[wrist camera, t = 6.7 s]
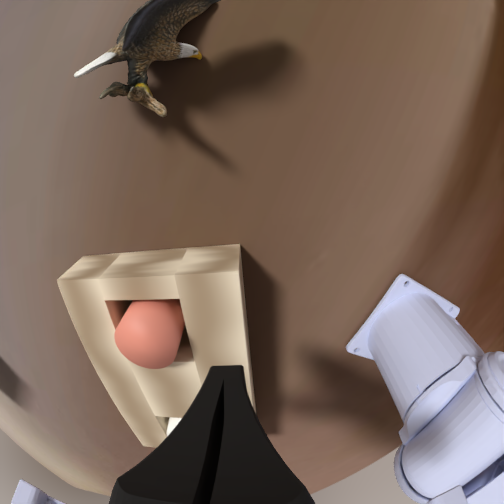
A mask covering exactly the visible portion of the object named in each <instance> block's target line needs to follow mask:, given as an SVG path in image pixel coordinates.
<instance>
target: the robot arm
mask: <svg viewBox="0 0 504 504" xmlns="http://www.w3.org/2000/svg"><path fill="white" fill-rule="evenodd" d="M406 281H407V283H406V284H405V285H404V283H405V282H406ZM459 311H460V310H459V308H458V307H457V306H456V305H454V304H452V303H451V302H449V301H448V300H446V299H444V298H443V297H441V296H440V295H438V294H436V293H435V292H433V291H431V290H430V289H428V288H426V287H425V286H423V285H421V284H420V283H418V282H416V281H415V280H413V279H411V278H410V277H408V276H406V275H404V274H400V275H399V276H398V277H397V278H396V279H395V281H394V282H393V284H392V285H391V287H390V288H389V290H388V291H387V293H386V294H385V295H384V297H383V298H382V300H381V301H380V303H379V304H378V305H377V307H376V308H375V309H374V311H373V312H372V313H371V315H370V316H369V318H368V319H367V320H366V321H365V323H364V324H363V325H362V327H361V328H360V329H359V331H358V332H357V333H356V334H355V336H354V337H353V338H352V339H351V341H350V342H349V343H348V344H347V346H346V349H347V351H348V352H349V353H352V354H355V355H359V356H362V357H365V358H368V359H372V360H375V362H376V364H377V366H378V368H379V370H380V373H381V375H382V377H383V379H384V381H385V383H386V385H387V387H388V389H389V392H390V394H391V396H392V398H393V400H394V402H395V405H396V407H397V409H398V411H399V414H400V416H401V418H402V420H403V423H404V426H403V427H402V429H401V430H400V431H399V432H398V433H399V435H400V438H401V440H402V445H401V446H400V447H399V448H398V450H397V452H396V455H395V459H394V471H395V476H396V479H397V482H398V484H399V486H400V487H401V489H402V490H403V492H404V493H405V494H406V495H407V496H408V497H409V498H411V499H412V500H414V501H415V502H417V503H420V504H504V352H500V351H497V352H488V353H486V354H485V353H484V352H483V350H482V349H481V348H480V347H479V346H478V345H477V343H476V342H475V341H474V340H473V339H472V337H471V336H470V335H469V334H468V333H467V332H466V331H465V329H464V328H463V327H462V326H461V325H460V324H459V323H458V322H457V320H456V319H455V318H456V316H457V315H458V313H459ZM356 348H357V349H356ZM11 504H65V503H63V502H61V501H59V500H56V499H54V498H52V497H50V496H48V495H47V494H45V492H43V491H42V490H40V489H38V488H37V487H35V486H33V485H31V484H29V483H28V482H26V481H24V480H22V479H20V481H19V483H18V486H17V489H16V491H15V494H14V496H13V499H12V502H11ZM109 504H315V502H314V500H313V499H312V497H311V495H310V494H309V492H308V491H307V489H306V487H305V486H304V485H303V483H302V482H301V481H300V480H299V479H298V478H297V477H296V476H295V475H294V473H293V472H292V471H291V470H290V469H289V467H288V466H287V465H286V464H285V462H284V461H283V459H282V458H281V457H280V455H279V454H278V452H277V451H276V450H275V448H274V447H273V445H272V443H271V442H270V440H269V438H268V437H267V435H266V433H265V431H264V430H263V428H262V426H261V424H260V422H259V420H258V418H257V415H256V413H255V411H254V409H253V406H252V403H251V401H250V398H249V395H248V392H247V387H246V380H245V373H244V367H243V366H242V365H223V366H211V367H210V369H209V372H208V374H207V376H206V378H205V380H204V382H203V384H202V386H201V388H200V390H199V392H198V394H197V395H196V397H195V399H194V401H193V402H192V404H191V406H190V407H189V409H188V410H187V412H186V413H185V414H184V416H183V417H182V419H181V420H180V422H179V423H178V424H177V426H176V427H175V428H174V429H173V430H172V432H171V433H170V434H169V435H168V436H167V437H166V438H165V440H164V441H163V442H162V443H161V444H160V445H159V446H158V447H157V448H156V449H155V450H154V451H153V452H152V453H150V454H149V455H148V456H147V457H146V458H145V459H143V460H142V461H141V462H140V463H139V464H137V465H136V466H135V467H133V468H132V469H130V470H129V471H127V472H126V473H124V474H123V475H122V476H120V477H118V478H117V481H116V483H115V485H114V487H113V490H112V494H111V498H110V501H109Z"/></svg>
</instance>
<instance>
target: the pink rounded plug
mask: <svg viewBox="0 0 504 504" xmlns="http://www.w3.org/2000/svg"><path fill="white" fill-rule="evenodd" d="M184 326H185V321H184V317H183V312H182V308H181V303H180V299H154V300H133V301H132V303H131V304H130V306H129V308H128V309H127V311H126V313H125V314H124V316H123V318H122V319H121V321H120V323H119V324H118V326H117V328H116V330H115V334H114V339H115V343H116V345H117V347H118V349H119V351H120V352H121V353H122V354H123V355H124V356H125V357H126V358H127V359H128V360H129V361H131V362H133V363H134V364H136V365H138V366H141V367H144V368H148V369H161V368H165V367H167V366H169V365H170V364H172V363H173V361H174V360H175V358H176V355H177V351H178V347H179V344H180V340H181V337H182V333H183V330H184Z"/></svg>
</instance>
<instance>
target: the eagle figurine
mask: <svg viewBox="0 0 504 504" xmlns="http://www.w3.org/2000/svg"><path fill="white" fill-rule="evenodd" d="M218 1H220V0H150V1H147V2H146V3H145V4H144V5H143V6H141V7H140V8H139V9H138V10H137V11H136V13H134V14H133V16H132V17H130V18H129V20H128V22H127V23H126V24H125V26H124V27H123V29H122V31H121V32H120V34H119V37H118V38H117V45H116V46H114V47H113V48H112V49H110V50H109V51H108V52H106V53H105V54H103V55H102V56H100V57H99V58H97V59H96V60H94V61H93V62H91V63H90V64H88V65H86V66H85V67H84V68H82V69H81V70H79V71H78V72H76V73H75V74H74V76H75V77H76V78H79V77H81V76H83V75H84V74H87V73H90V72H92V71H93V70H95V69H97V68H99V67H101V66H103V65H107V64H112V63H115V62H121V61H126V60H127V61H128V70H129V73H128V82H127V84H128V85H124V84H122V83H120V82H114V83H112V85H111V86H110V87H108V88H107V89H106V90H104V91H103V92H102V93H101V95H100V97H99V98H100V99H102V98H104V97H106V96H107V95H108V94H109V95H110V96H112V97H116V96H117V95H120V96H127V98H128V99H129V100H130V101H132V102H138V103H140V104H141V105H143V106H145V107H147V108H148V109H151V110H153V111H155V112H156V113H157V114H158V115H159V116H161V117H165V116H166V115H167V111H166V107H165V106H164V105H163V104H161V103H159V102H158V101H157V100H156V99H154V98H153V95H152V93H151V91H150V89H149V87H148V84H147V80H148V77H147V70H148V67H149V65H150V64H151V63H152V62H153V61H170V60H174V59H178V58H183V57H194V58H198V59H199V60H200V59H201V58H202V55H201V53H200V52H199V51H198V49H197V48H196V47H194V46H192V45H189V44H184V43H179V42H176V37H177V35H178V33H179V31H180V30H181V28H182V27H183V26H184V25H185V24H186V23H187V22H189V21H190V20H192V19H193V18H195V17H197V16H198V15H200V14H201V13H203V12H204V11H205V10H206V9H207V8H208V7H209V6H210V5H211V4H213V3H215V2H218Z"/></svg>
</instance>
